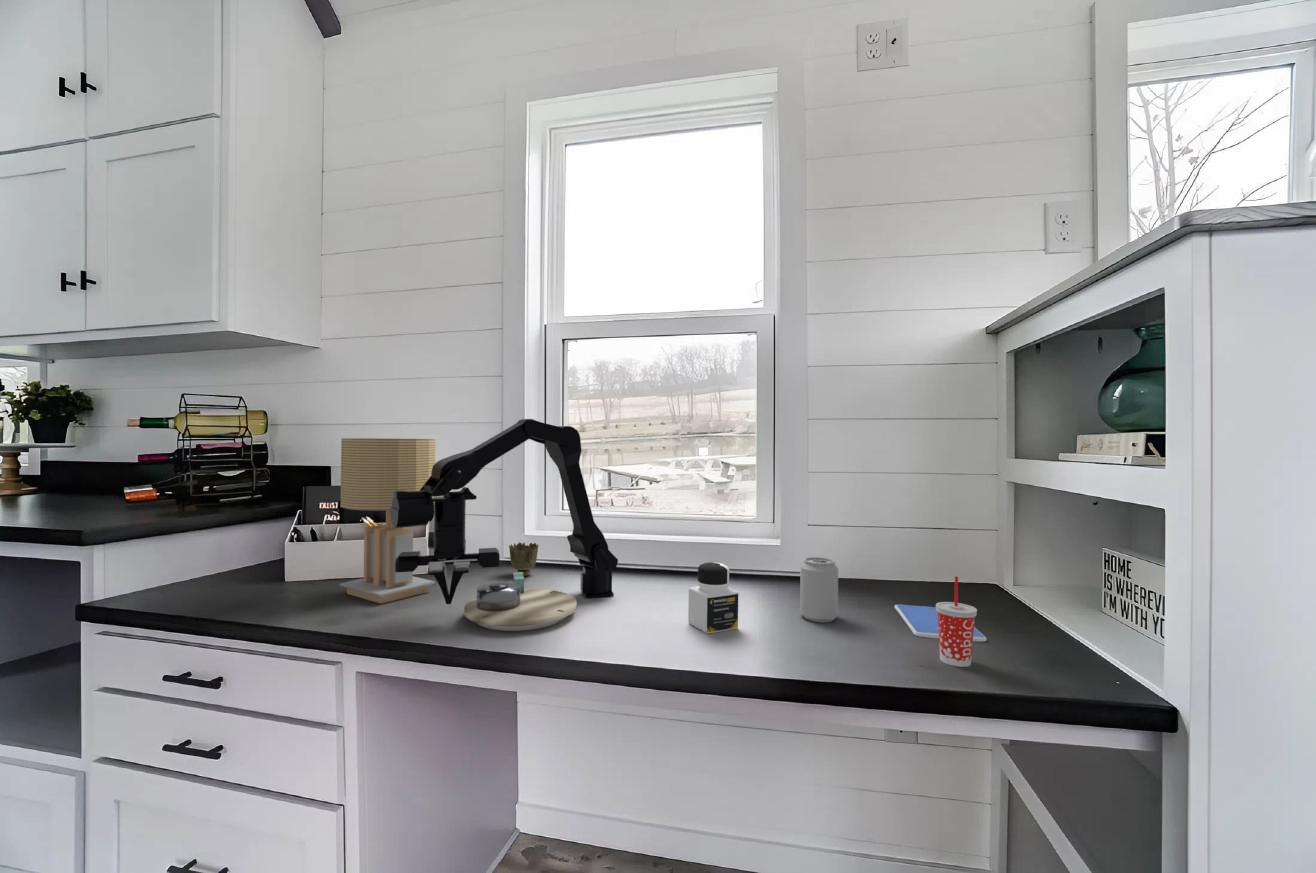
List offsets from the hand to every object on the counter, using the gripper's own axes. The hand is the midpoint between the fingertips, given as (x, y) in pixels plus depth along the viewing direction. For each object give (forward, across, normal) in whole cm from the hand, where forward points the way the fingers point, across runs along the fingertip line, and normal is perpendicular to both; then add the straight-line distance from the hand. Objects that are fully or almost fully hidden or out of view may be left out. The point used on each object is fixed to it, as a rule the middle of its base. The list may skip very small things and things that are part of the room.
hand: (448, 603), depth 111 cm
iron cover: (+1, -9, 0) cm, 9 cm away
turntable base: (+4, -14, 0) cm, 14 cm away
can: (+4, -72, +17) cm, 74 cm away
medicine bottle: (+4, -49, +16) cm, 52 cm away
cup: (+4, -17, -34) cm, 38 cm away
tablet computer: (+4, -93, +26) cm, 97 cm away
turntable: (+2, -14, 0) cm, 14 cm away
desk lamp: (+4, +14, -25) cm, 29 cm away
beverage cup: (+4, -81, +43) cm, 92 cm away
